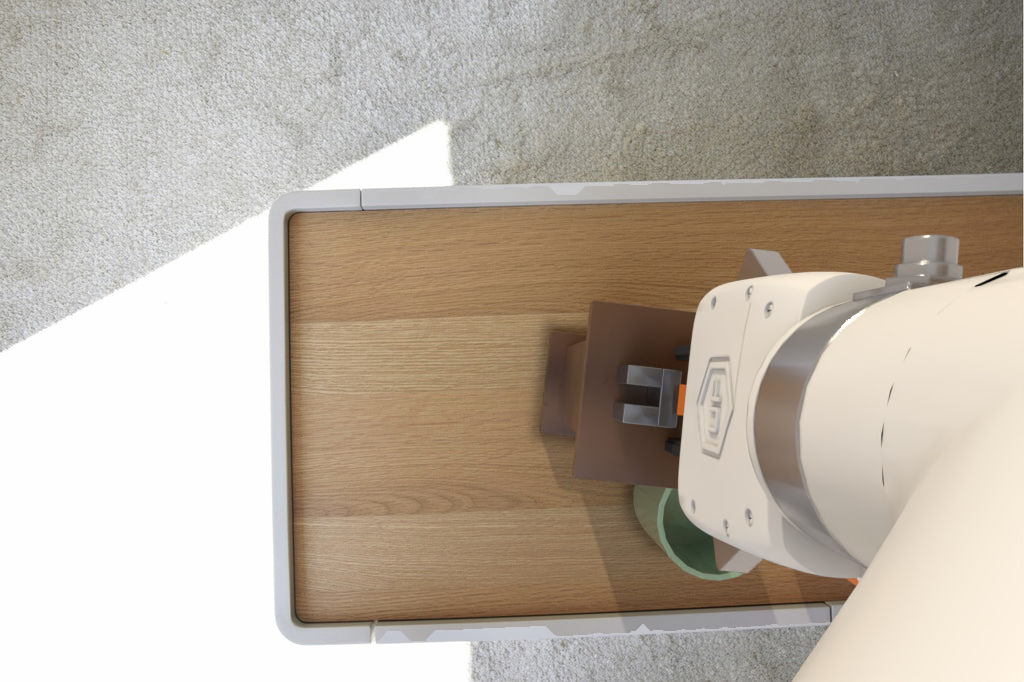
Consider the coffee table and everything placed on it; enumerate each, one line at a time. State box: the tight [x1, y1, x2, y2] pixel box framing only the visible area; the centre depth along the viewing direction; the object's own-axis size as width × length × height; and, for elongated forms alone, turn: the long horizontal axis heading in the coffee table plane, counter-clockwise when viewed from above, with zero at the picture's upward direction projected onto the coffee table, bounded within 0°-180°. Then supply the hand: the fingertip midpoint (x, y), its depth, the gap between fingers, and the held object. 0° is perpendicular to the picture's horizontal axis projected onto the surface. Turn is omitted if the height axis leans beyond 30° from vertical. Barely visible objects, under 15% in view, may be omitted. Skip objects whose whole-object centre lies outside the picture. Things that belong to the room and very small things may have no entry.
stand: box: [538, 299, 697, 489], centre depth 51 cm, size 10×10×29 cm
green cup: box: [632, 485, 745, 582], centre depth 60 cm, size 10×10×10 cm
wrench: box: [612, 365, 687, 429], centre depth 35 cm, size 6×3×3 cm, turn 84°
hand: (697, 401), depth 36 cm, fingers open, 4 cm apart
